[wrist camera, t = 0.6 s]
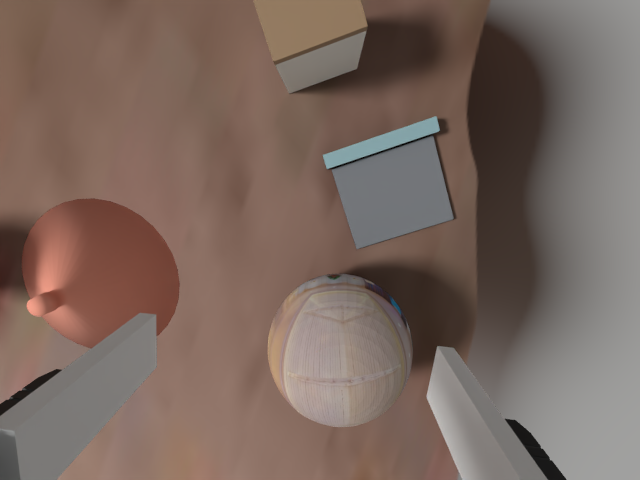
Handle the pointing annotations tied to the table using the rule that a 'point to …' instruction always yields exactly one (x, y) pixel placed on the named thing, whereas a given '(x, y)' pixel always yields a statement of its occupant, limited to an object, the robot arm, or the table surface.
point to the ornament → (340, 350)
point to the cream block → (312, 38)
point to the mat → (393, 192)
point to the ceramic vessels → (97, 270)
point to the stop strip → (381, 142)
